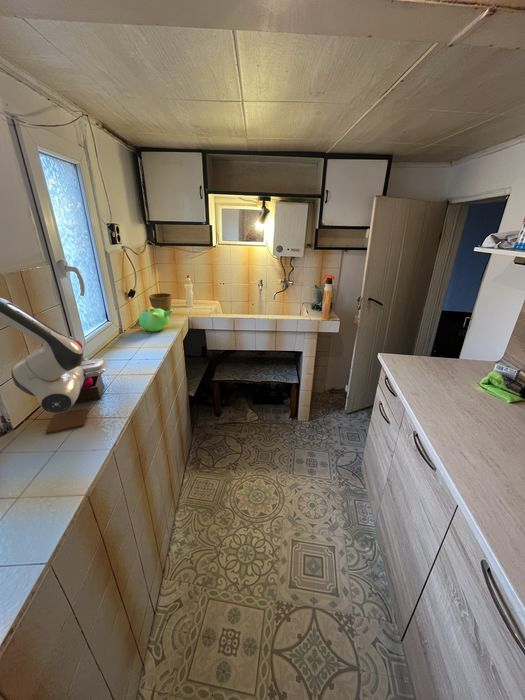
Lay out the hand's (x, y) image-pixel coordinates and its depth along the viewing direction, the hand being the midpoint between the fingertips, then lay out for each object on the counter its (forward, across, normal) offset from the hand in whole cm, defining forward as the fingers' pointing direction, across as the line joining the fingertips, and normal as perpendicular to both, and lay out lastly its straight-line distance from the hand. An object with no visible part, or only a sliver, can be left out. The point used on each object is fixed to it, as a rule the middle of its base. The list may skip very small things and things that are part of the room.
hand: (77, 360), depth 104 cm
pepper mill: (-1, 0, +10) cm, 10 cm away
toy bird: (+66, -29, +14) cm, 73 cm away
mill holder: (-1, 0, +14) cm, 14 cm away
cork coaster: (-17, +3, +14) cm, 22 cm away
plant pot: (+91, -34, +14) cm, 99 cm away
